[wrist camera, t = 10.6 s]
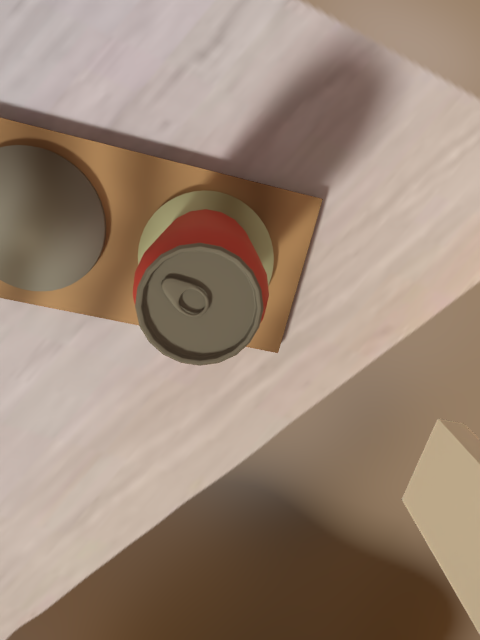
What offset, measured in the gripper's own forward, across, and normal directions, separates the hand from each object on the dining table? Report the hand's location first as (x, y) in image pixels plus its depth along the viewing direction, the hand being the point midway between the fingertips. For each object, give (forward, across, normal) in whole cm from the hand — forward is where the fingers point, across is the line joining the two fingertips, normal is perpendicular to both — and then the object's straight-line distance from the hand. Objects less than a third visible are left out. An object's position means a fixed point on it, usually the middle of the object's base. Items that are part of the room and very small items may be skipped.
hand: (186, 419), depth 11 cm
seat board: (+22, -6, 0) cm, 22 cm away
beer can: (+20, 0, 0) cm, 20 cm away
